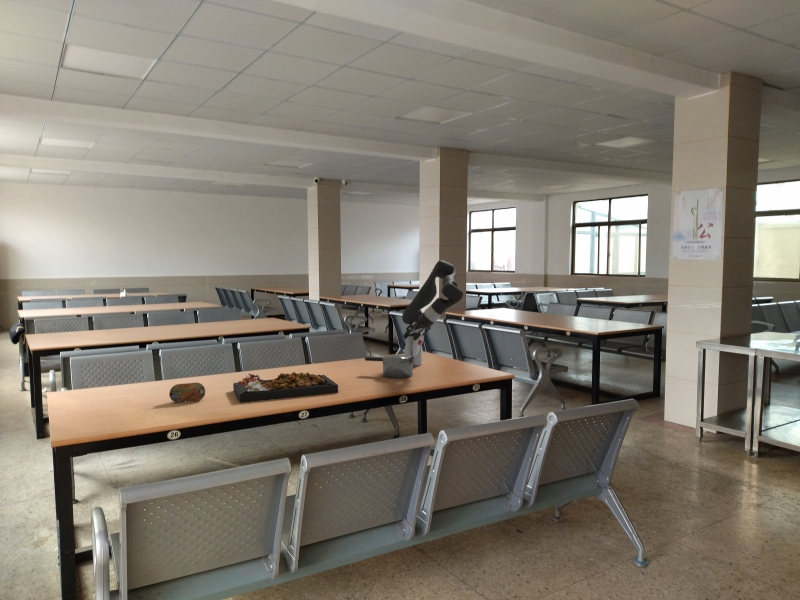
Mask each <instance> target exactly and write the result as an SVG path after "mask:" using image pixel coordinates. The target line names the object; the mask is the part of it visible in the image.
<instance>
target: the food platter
mask: <svg viewBox="0 0 800 600" xmlns="http://www.w3.org/2000/svg"><path fill="white" fill-rule="evenodd" d="M241 379H242V380H239V381H237V382H233V384H232V385H233V389H232V390H234V391H233V393H234V392H235V393H234V395H235V394H236V395H235V396H236V398H237V400H238V401H239V403H240V404H243V403H253V402H252V401H254V402H263V401H270V400H271V399H273V400H281V399H290V398H291V399H292V398H300V397H307V396H309V397H310V396H311V397H312V396H319V395H321V396H322V395H328V394H338V393H339V384H337V383H336V382H335V381H334V380H332V379H331V378H329V377H328V376H326V375H325V374H315V373H311V374H310V372H306V373H303V372H300V373H296V372H291V373H284V372H283V373H282V372H281V373H280V374H278V375H277V377H275V378H273V379H261V376H259V374H256V375H254V374H253V373H248V375H247V374H246V375H245V376H244V378H243V377H242V378H241ZM262 400H263V401H262Z"/></svg>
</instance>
